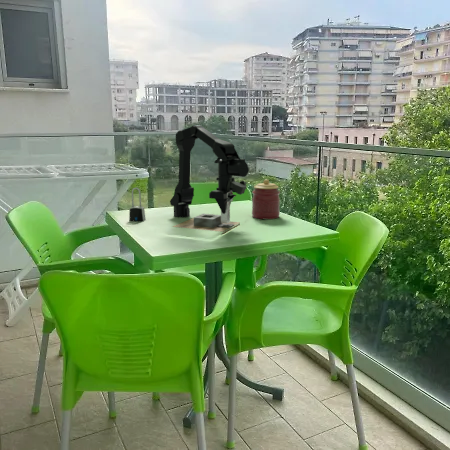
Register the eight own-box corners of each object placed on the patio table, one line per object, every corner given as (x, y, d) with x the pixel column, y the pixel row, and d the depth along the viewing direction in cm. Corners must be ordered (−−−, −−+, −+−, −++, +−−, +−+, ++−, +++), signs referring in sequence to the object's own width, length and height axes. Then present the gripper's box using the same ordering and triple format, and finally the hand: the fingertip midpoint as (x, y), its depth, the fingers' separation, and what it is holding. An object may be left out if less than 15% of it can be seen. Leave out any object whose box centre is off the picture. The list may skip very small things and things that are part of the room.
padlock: (128, 221, 187) (126, 188, 183) (131, 219, 191) (129, 186, 187) (143, 221, 186) (141, 188, 183) (145, 219, 190) (144, 186, 187)
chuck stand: (172, 228, 172) (172, 218, 171) (192, 220, 188) (192, 210, 187) (223, 234, 163) (223, 222, 162) (240, 224, 179) (240, 214, 178)
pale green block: (217, 222, 172) (217, 198, 170) (220, 221, 174) (220, 197, 172) (230, 223, 170) (230, 199, 167) (233, 222, 172) (233, 198, 170)
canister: (279, 214, 201) (280, 177, 197) (280, 219, 188) (281, 181, 184) (252, 213, 202) (252, 177, 198) (251, 219, 190) (251, 180, 186)
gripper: (235, 178, 156) (234, 219, 160) (252, 173, 173) (251, 210, 176) (208, 177, 160) (208, 216, 164) (227, 172, 177) (227, 208, 181)
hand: (225, 212), depth 171 cm, fingers closed on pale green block, 3 cm apart
